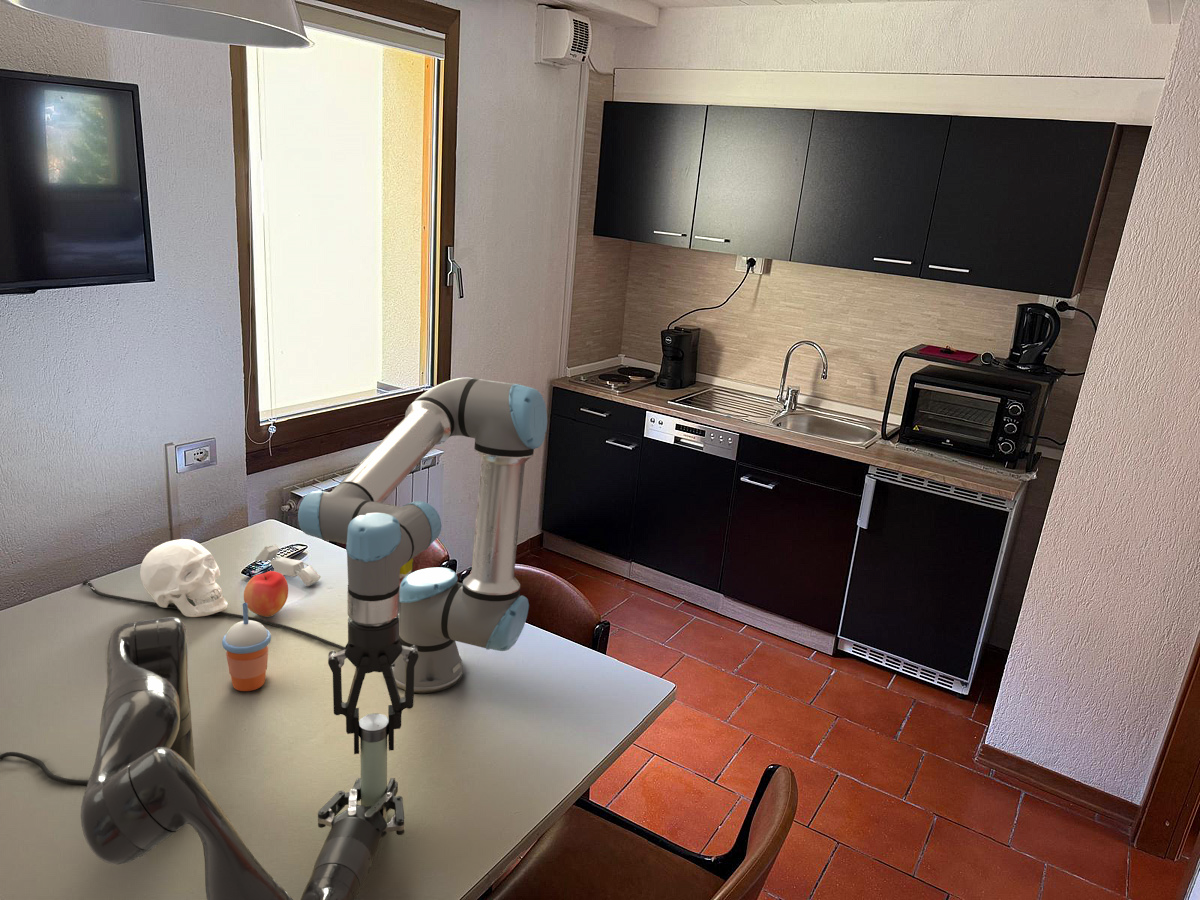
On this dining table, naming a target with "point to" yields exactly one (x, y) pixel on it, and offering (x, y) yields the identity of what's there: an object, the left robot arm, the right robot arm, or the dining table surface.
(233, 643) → the cup with straw
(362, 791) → the pale green bottle
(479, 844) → the dining table surface
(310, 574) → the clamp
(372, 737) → the lid
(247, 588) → the apple
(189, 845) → the dining table surface
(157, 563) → the skull
